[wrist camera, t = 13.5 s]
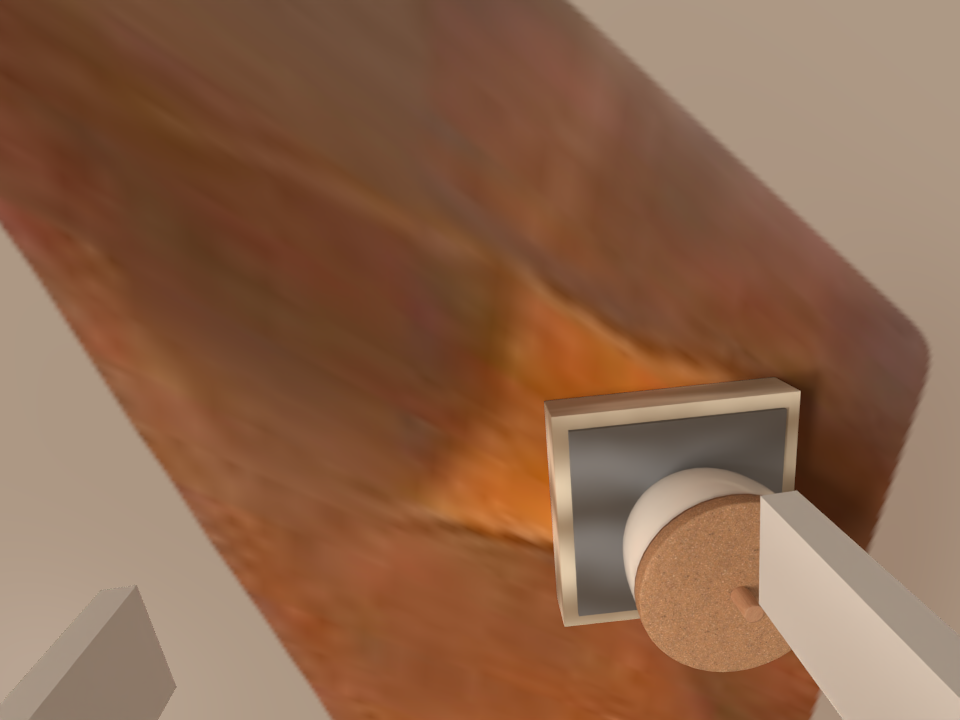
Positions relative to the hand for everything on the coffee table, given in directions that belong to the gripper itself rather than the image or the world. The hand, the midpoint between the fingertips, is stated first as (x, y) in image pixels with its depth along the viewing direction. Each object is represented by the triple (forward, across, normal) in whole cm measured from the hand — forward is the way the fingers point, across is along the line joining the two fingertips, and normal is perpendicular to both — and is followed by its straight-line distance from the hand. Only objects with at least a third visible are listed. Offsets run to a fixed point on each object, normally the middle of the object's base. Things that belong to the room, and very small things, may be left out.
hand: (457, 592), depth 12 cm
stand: (+25, +13, -15) cm, 32 cm away
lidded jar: (+22, +13, -15) cm, 30 cm away
